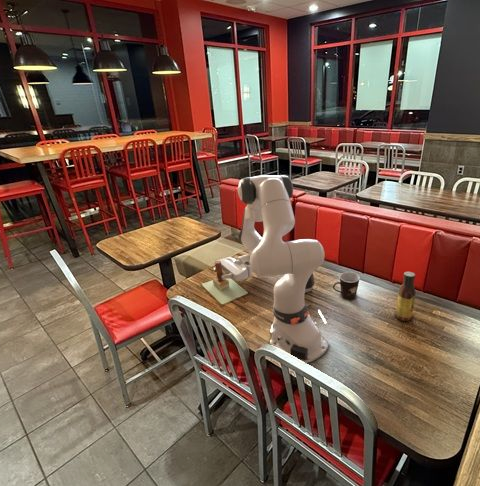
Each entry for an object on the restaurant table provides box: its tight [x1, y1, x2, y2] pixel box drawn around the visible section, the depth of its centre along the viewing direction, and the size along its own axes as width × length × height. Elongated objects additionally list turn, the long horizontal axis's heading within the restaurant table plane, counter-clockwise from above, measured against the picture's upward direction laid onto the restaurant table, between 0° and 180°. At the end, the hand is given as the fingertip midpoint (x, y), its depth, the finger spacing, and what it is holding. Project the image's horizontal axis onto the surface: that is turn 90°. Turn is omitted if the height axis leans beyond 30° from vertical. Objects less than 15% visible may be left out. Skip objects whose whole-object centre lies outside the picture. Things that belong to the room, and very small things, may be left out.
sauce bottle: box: [395, 271, 417, 322], centre depth 122 cm, size 6×6×20 cm
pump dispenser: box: [305, 273, 315, 294], centre depth 144 cm, size 10×10×15 cm
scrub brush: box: [212, 260, 229, 291], centre depth 149 cm, size 7×5×13 cm
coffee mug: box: [332, 271, 361, 301], centre depth 139 cm, size 12×9×10 cm
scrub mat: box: [201, 278, 249, 305], centre depth 150 cm, size 22×14×1 cm, turn 36°
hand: (217, 273), depth 149 cm, fingers open, 7 cm apart
